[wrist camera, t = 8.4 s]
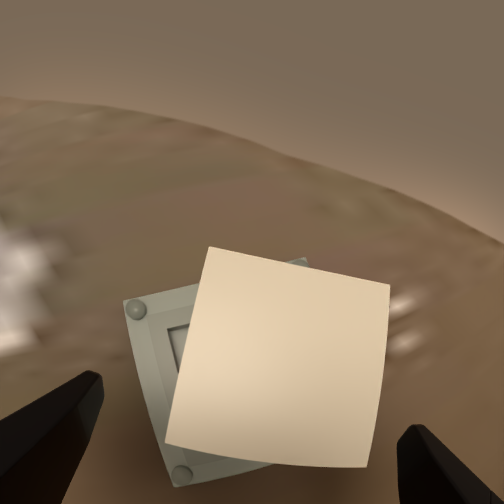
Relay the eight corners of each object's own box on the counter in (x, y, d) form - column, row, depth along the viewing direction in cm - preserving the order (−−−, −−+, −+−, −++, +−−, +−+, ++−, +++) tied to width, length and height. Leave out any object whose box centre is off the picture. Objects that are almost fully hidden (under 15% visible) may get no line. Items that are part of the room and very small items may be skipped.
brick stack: (272, 414, 17) (366, 467, 6) (198, 400, 17) (164, 442, 6) (285, 343, 19) (389, 285, 7) (213, 329, 19) (208, 246, 7)
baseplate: (355, 428, 18) (370, 432, 16) (175, 482, 16) (171, 493, 14) (301, 262, 22) (310, 250, 20) (126, 304, 20) (117, 296, 18)
